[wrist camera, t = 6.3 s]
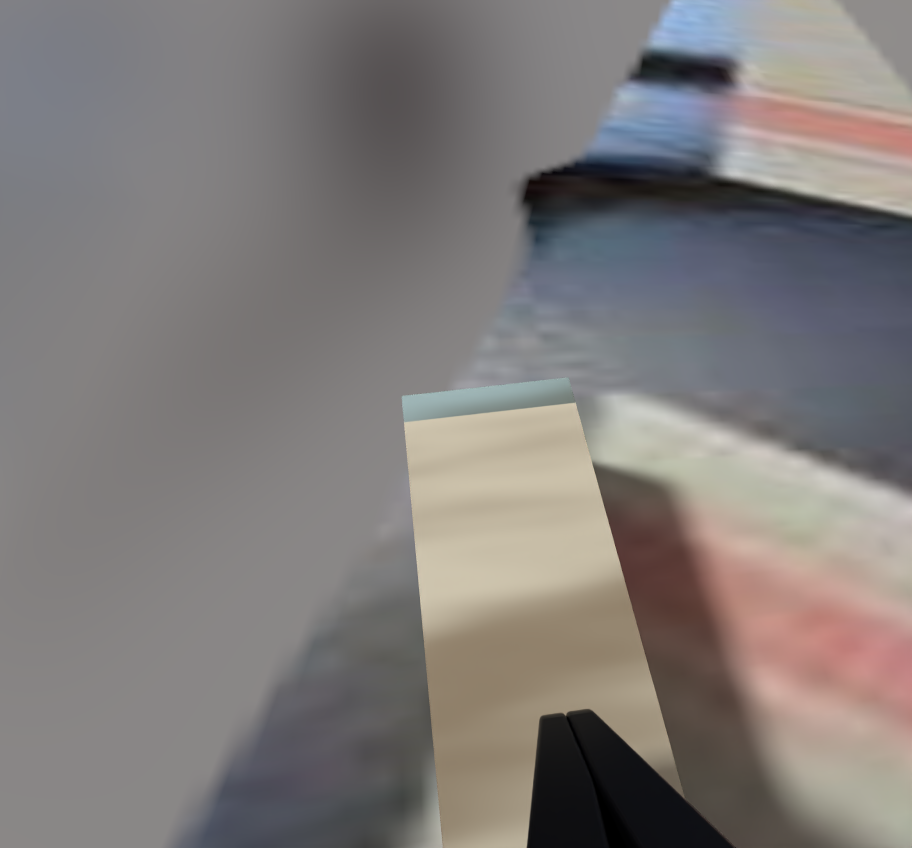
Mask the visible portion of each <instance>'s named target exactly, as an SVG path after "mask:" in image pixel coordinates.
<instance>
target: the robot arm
mask: <svg viewBox="0 0 912 848" xmlns="http://www.w3.org/2000/svg"><path fill="white" fill-rule="evenodd" d="M527 848H736V847H735V846H734V845H733V844H732V843H731V842H730V841H728V840H727V839H726V838H725V837H724V836H723V835H722V834H721V833H720V832H719V831H718V830H717V829H716V828H715V827H714V826H713V825H712V824H711V823H710V822H709V821H708V820H707V819H706V818H704V817H703V816H702V815H701V814H700V813H699V812H698V811H697V810H696V809H695V808H694V807H693V806H692V805H691V804H690V803H689V802H688V801H687V800H686V799H685V798H684V797H683V796H681V795H680V794H679V793H678V792H677V791H676V790H675V789H674V788H673V787H672V786H671V785H670V784H669V783H668V782H667V781H666V780H665V779H664V778H663V777H662V776H661V775H660V774H659V773H657V772H656V771H655V770H654V769H653V768H652V767H651V766H650V765H649V764H648V763H647V762H646V761H645V760H644V759H643V758H642V757H641V756H640V755H639V754H638V753H637V752H636V751H634V750H633V749H632V748H631V747H630V746H629V745H628V744H627V743H626V742H625V741H624V740H623V739H622V738H621V737H620V736H619V735H618V734H617V733H616V732H615V731H614V730H613V729H612V728H610V727H609V726H608V725H607V724H606V723H605V722H604V721H603V720H602V719H601V718H600V717H599V716H598V715H597V714H596V713H595V712H594V711H592V710H590V709H582V710H575V711H569V712H567V713H566V716H565V714H563V713H554V714H547V715H542V716H541V717H540V719H539V727H538V737H537V747H536V758H535V768H534V778H533V788H532V798H531V808H530V818H529V828H528V839H527Z"/></svg>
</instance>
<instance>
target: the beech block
mask: <svg viewBox="0 0 912 848" xmlns="http://www.w3.org/2000/svg"><path fill="white" fill-rule="evenodd" d="M402 405H403V416H404V426H405V438H406V447H407V448H406V449H407V459H408V470H409V481H410V492H411V503H412V514H413V525H414V536H415V547H416V558H417V569H418V580H419V591H420V602H421V613H422V624H423V635H424V646H425V657H426V668H427V679H428V690H429V701H430V711H431V722H432V733H433V744H434V755H435V766H436V777H437V788H438V799H439V810H440V821H441V832H442V843H443V848H527V839H528V828H529V818H530V808H531V798H532V788H533V778H534V768H535V758H536V747H537V737H538V727H539V719H540V717H541V716H542V715H547V714H554V713H563V714H565V716H566V713H567V712H569V711H575V710H582V709H590V710H592V711H594V712H595V713H596V714H597V715H598V716H599V717H600V718H601V719H602V720H603V721H604V722H605V723H606V724H607V725H608V726H609V727H610V728H612V729H613V730H614V731H615V732H616V733H617V734H618V735H619V736H620V737H621V738H622V739H623V740H624V741H625V742H626V743H627V744H628V745H629V746H630V747H631V748H632V749H633V750H634V751H636V752H637V753H638V754H639V755H640V756H641V757H642V758H643V759H644V760H645V761H646V762H647V763H648V764H649V765H650V766H651V767H652V768H653V769H654V770H655V771H656V772H657V773H659V774H660V775H661V776H662V777H663V778H664V779H665V780H666V781H667V782H668V783H669V784H670V785H671V786H672V787H673V788H674V789H675V790H676V791H677V792H678V793H679V794H680V795H681V796H683V797H684V798H685V796H684V793H683V789H682V785H681V782H680V778H679V775H678V771H677V767H676V764H675V760H674V757H673V753H672V749H671V746H670V742H669V738H668V735H667V731H666V728H665V724H664V720H663V717H662V713H661V710H660V706H659V702H658V699H657V695H656V692H655V688H654V684H653V681H652V677H651V674H650V670H649V666H648V663H647V659H646V656H645V652H644V648H643V645H642V641H641V637H640V634H639V630H638V627H637V623H636V619H635V616H634V612H633V609H632V605H631V601H630V598H629V594H628V591H627V587H626V583H625V580H624V576H623V573H622V569H621V565H620V562H619V558H618V555H617V551H616V547H615V544H614V540H613V536H612V533H611V529H610V526H609V522H608V518H607V515H606V511H605V508H604V504H603V500H602V497H601V493H600V490H599V486H598V482H597V479H596V475H595V472H594V468H593V464H592V461H591V457H590V454H589V450H588V446H587V443H586V439H585V435H584V432H583V428H582V425H581V421H580V417H579V414H578V410H577V407H576V403H575V399H574V396H573V392H572V389H571V385H570V381H569V378H560V379H551V380H542V381H533V382H524V383H515V384H506V385H497V386H488V387H479V388H470V389H461V390H452V391H443V392H435V393H425V394H416V395H407V396H402Z"/></svg>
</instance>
